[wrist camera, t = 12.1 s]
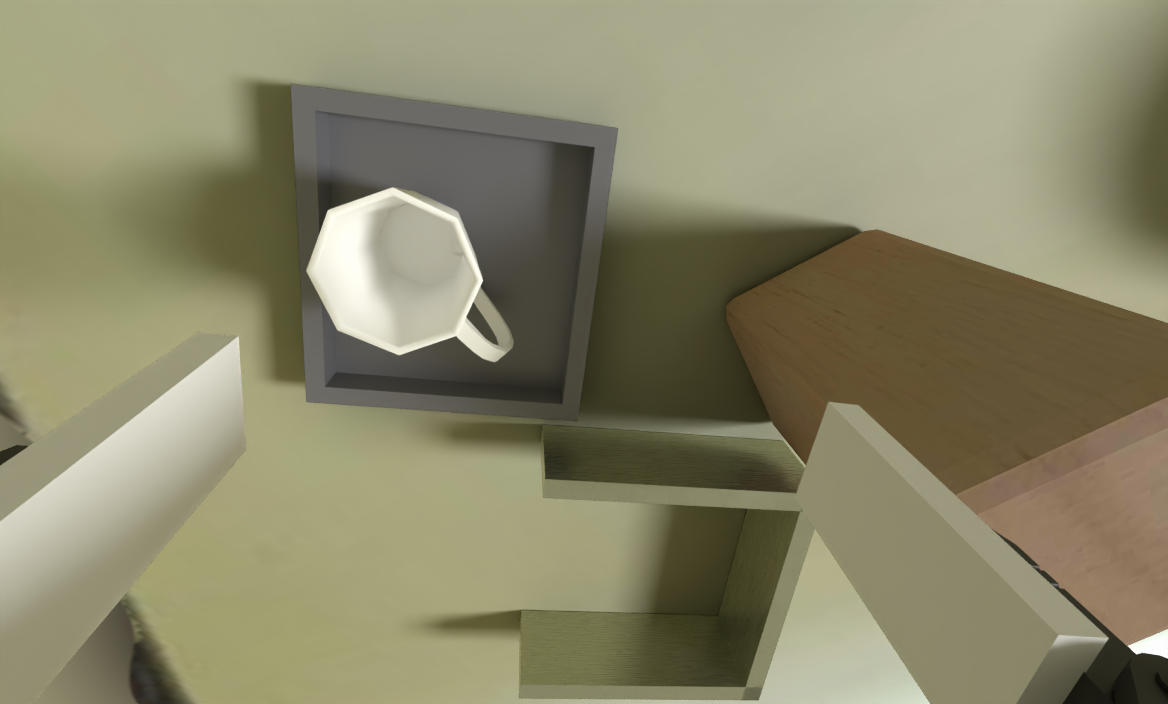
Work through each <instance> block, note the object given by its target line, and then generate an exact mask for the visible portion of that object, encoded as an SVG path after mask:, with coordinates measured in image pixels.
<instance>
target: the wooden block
mask: <svg viewBox="0 0 1168 704" xmlns="http://www.w3.org/2000/svg"><path fill="white" fill-rule="evenodd" d="M726 321H727V323H728V325H729V327H730V330H731V332H732V334H733V336H734V338H735V341H736V343H737V345H738V347H739V350H740V352H741V354H742V356H743V358H744V361H745V363H746V365H747V367H748V369H749V372H750V374H751V376H752V378H753V381H754V383H755V385H756V387H757V389H758V392H759V394H760V396H761V398H762V401H763V403H764V405H765V407H766V409H767V412H768V414H769V416H770V418H771V420H772V423H773V425H774V426H775V427H776V428H777V430H778V431H779V432H780V433H781V435H782V436H783V437H784V438H785V440H786V441H787V442H788V443H789V445H790V446H791V447H792V448H793V450H794V451H795V452H796V453H797V455H798V456H799V457H800V458H801V460H802V461H803V462H804V463H805V465H806V464H807V462H808V459H809V456H810V453H811V450H812V447H813V444H814V442H815V439H816V436H817V433H818V430H819V427H820V424H821V422H822V419H823V416H824V413H825V410H826V407H827V404H828V402H835V403H844V404H853V405H859V406H860V407H861V408H862V409H863V410H864V411H865V412H866V413H867V414H869V415H870V416H871V417H872V418H873V419H874V420H875V421H876V422H877V423H878V424H879V425H880V426H881V427H883V428H884V429H885V430H886V431H887V432H888V433H889V434H890V435H891V436H892V437H893V438H894V439H895V440H896V441H898V442H899V443H900V444H901V445H902V446H903V447H904V448H905V449H906V450H907V451H908V452H909V453H910V454H912V455H913V456H914V457H915V458H916V459H917V460H918V461H919V462H920V463H921V464H922V465H923V466H924V467H926V468H927V469H928V470H929V471H930V472H931V473H932V474H933V475H934V476H935V477H936V478H937V479H938V480H939V481H941V482H942V483H943V484H944V485H945V486H946V487H947V488H948V489H949V490H950V491H951V492H952V493H953V494H955V495H956V496H957V497H958V498H959V499H960V500H961V501H962V502H963V503H964V504H965V505H966V506H967V507H969V508H970V509H971V510H972V511H973V512H974V513H975V514H976V515H977V516H978V517H979V518H980V519H981V520H982V521H984V522H985V523H986V524H987V525H988V526H989V527H990V528H991V529H993V530H994V531H996V532H997V533H999V534H1000V535H1002V536H1004V537H1005V538H1007V539H1008V540H1010V541H1011V542H1013V543H1014V544H1016V545H1017V546H1018V547H1019V548H1020V549H1021V550H1023V551H1024V552H1025V553H1026V554H1027V555H1028V556H1029V557H1030V558H1031V559H1032V560H1033V561H1035V562H1036V563H1037V564H1038V565H1039V566H1040V567H1039V568H1040V570H1044V571H1046V572H1047V573H1048V574H1049V575H1050V576H1051V577H1052V578H1053V579H1054V580H1055V581H1056V582H1058V583H1059V588H1061V589H1065V590H1066V591H1067V592H1068V593H1070V594H1071V595H1072V596H1073V597H1074V598H1075V599H1076V600H1077V601H1078V602H1079V603H1080V604H1082V605H1083V606H1084V607H1085V608H1086V609H1087V610H1088V611H1089V612H1090V613H1091V614H1092V615H1094V616H1095V617H1096V618H1097V619H1098V620H1099V621H1100V622H1101V623H1102V624H1103V625H1105V626H1106V627H1107V628H1108V629H1109V630H1110V631H1111V632H1112V633H1113V634H1114V635H1115V636H1117V637H1118V638H1119V639H1120V640H1121V641H1122V642H1123V643H1124V644H1125V645H1126V646H1128V645H1131V644H1133V643H1135V642H1138V641H1140V640H1142V639H1145V638H1147V637H1150V636H1152V635H1154V634H1157V633H1159V632H1161V631H1164V630H1166V629H1168V323H1165V322H1162V321H1159V320H1156V319H1153V318H1150V317H1147V316H1144V315H1141V314H1138V313H1134V312H1131V311H1128V310H1125V309H1122V308H1119V307H1116V306H1113V305H1110V304H1107V303H1103V302H1100V301H1097V300H1094V299H1091V298H1088V297H1085V296H1082V295H1079V294H1076V293H1072V292H1069V291H1066V290H1063V289H1060V288H1057V287H1054V286H1051V285H1048V284H1045V283H1042V282H1038V281H1035V280H1032V279H1029V278H1026V277H1023V276H1020V275H1017V274H1014V273H1011V272H1007V271H1004V270H1001V269H998V268H995V267H992V266H989V265H986V264H983V263H980V262H976V261H973V260H970V259H967V258H964V257H961V256H958V255H955V254H952V253H949V252H945V251H942V250H939V249H936V248H933V247H930V246H927V245H924V244H921V243H918V242H915V241H911V240H908V239H905V238H902V237H899V236H896V235H893V234H890V233H887V232H884V231H880V230H870V231H864V232H861V233H859V234H857V235H855V236H853V237H851V238H850V239H848V240H846V241H844V242H842V243H840V244H838V245H836V246H834V247H832V248H830V249H828V250H826V251H824V252H822V253H821V254H819V255H817V256H815V257H813V258H811V259H809V260H807V261H805V262H803V263H801V264H799V265H797V266H795V267H793V268H792V269H790V270H788V271H786V272H784V273H782V274H780V275H778V276H776V277H774V278H772V279H770V280H768V281H766V282H764V283H763V284H761V285H759V286H757V287H755V288H753V289H751V290H749V291H747V292H745V293H743V294H741V295H739V296H737V297H735V298H734V299H732V300H731V301H730V302H729V303H728V304H727V305H726Z"/></svg>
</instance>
